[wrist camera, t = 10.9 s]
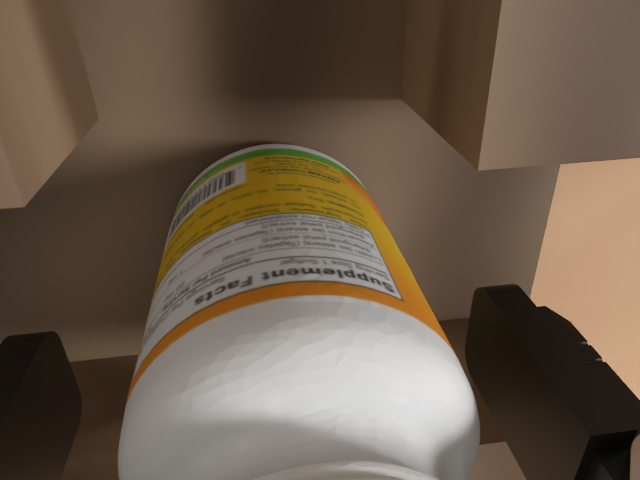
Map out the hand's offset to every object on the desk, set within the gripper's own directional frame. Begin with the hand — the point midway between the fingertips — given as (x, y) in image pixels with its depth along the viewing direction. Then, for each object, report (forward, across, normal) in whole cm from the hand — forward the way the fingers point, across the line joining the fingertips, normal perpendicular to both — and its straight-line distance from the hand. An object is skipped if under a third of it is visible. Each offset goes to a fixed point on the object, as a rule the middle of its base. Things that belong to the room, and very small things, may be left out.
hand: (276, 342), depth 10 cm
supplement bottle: (+4, 0, 0) cm, 4 cm away
